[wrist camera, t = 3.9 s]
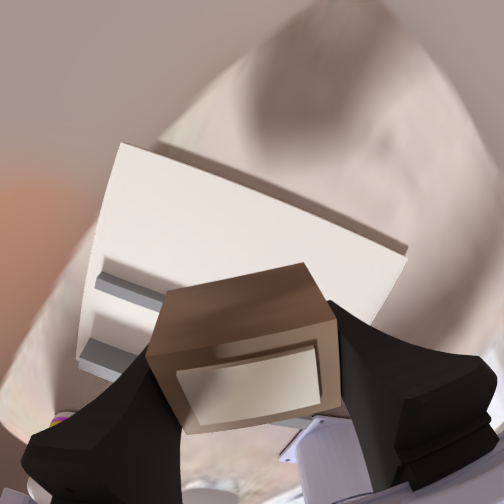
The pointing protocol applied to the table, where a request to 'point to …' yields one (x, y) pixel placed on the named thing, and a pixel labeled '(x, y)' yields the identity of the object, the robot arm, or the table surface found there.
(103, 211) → the wall board
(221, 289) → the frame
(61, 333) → the table surface
